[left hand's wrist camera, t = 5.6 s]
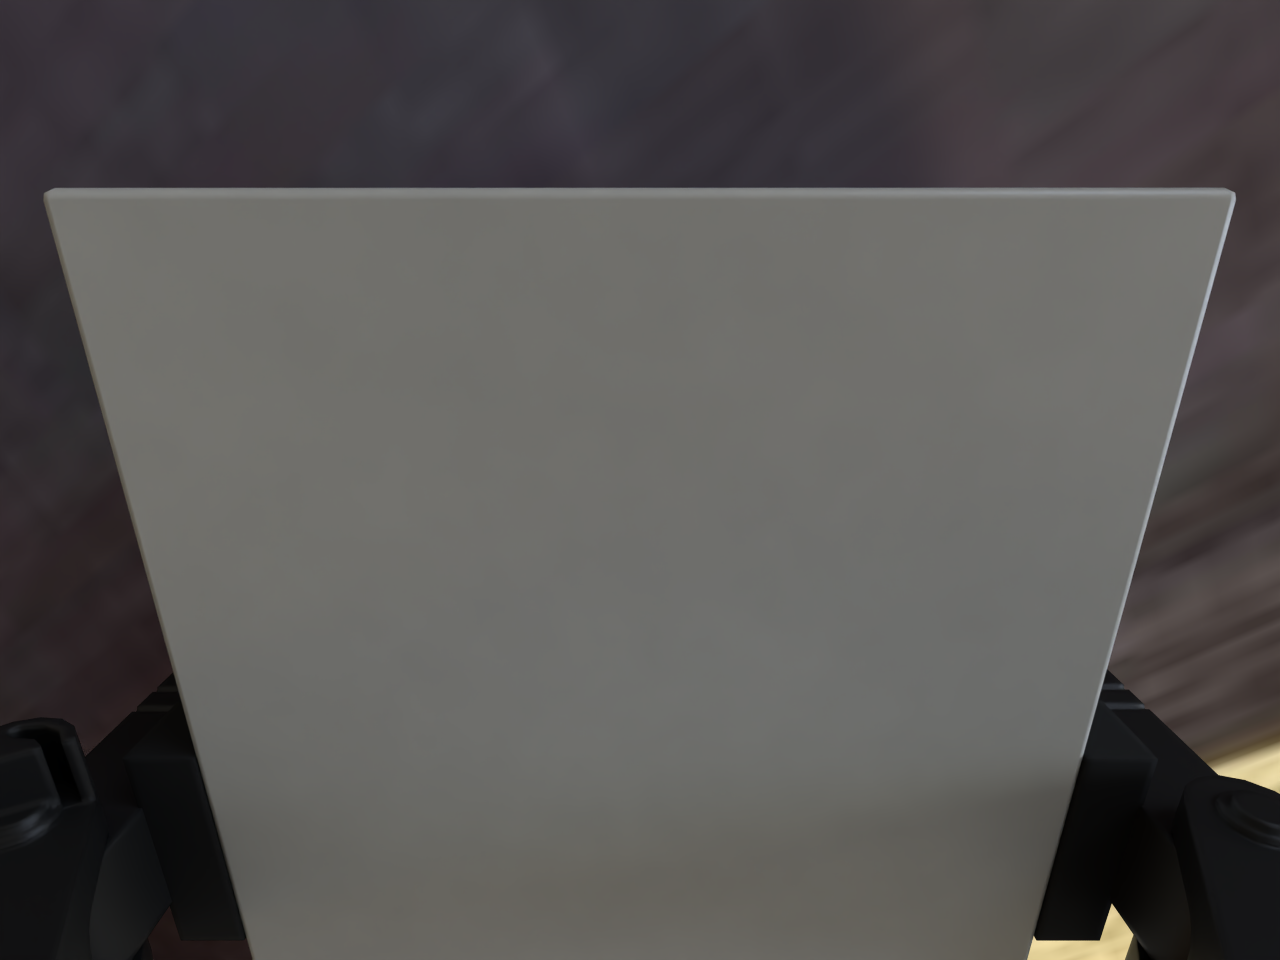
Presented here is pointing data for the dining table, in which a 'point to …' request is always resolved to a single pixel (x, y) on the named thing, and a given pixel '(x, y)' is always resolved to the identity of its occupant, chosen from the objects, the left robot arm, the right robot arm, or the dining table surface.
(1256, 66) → the dining table surface
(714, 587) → the thick board
